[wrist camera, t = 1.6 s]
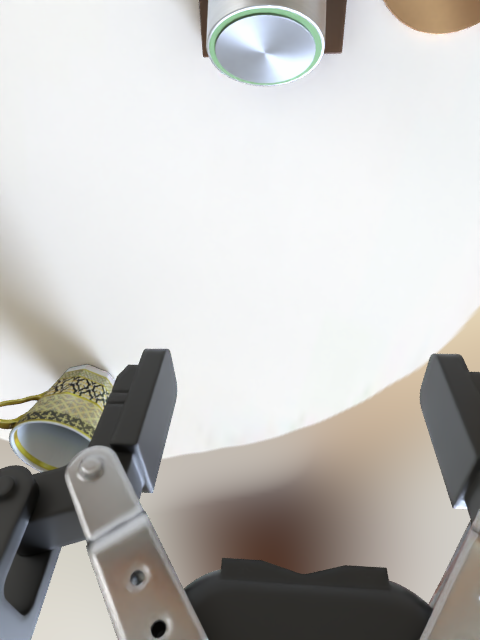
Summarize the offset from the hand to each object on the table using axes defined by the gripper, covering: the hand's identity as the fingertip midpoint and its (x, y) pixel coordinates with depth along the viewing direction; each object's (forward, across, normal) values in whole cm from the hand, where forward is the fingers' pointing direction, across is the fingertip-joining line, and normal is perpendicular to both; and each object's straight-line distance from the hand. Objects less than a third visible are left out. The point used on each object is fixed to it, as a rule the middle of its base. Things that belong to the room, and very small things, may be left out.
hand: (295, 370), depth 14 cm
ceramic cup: (+25, +25, +28) cm, 45 cm away
